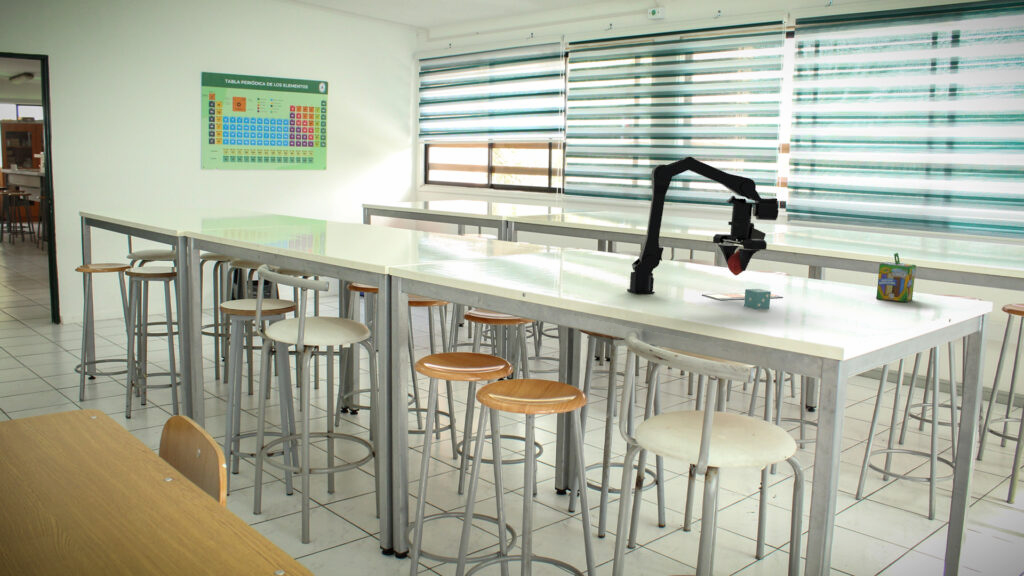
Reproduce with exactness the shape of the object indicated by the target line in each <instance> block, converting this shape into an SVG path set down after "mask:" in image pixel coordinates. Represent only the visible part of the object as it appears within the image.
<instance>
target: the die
mask: <svg viewBox="0 0 1024 576" xmlns="http://www.w3.org/2000/svg"><path fill="white" fill-rule="evenodd" d="M744 293H745V299H743V301H744V303H743V307H746V306H747V307H746V308H750V309H752V310H762V309H763V310H766V309H768V310H769V309H770V306H771V305H770V304H771V298H770V296H771V294H772V291H769V290H767V289H762V288H746V289H745V292H744Z"/></svg>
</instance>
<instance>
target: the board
mask: <svg viewBox="0 0 1024 576" xmlns="http://www.w3.org/2000/svg"><path fill="white" fill-rule="evenodd" d="M701 296H703V297H707V298H710V299H713V300H717V301H737V300H738V301H739V300H740V301H741V300H742V301H744V300H745V292H732V293H731V292H730V293H729V292H727V293H704V294H703V293H702V294H701ZM770 299H784V297H783V296H780V295H778V294H773V293H771V296H770Z"/></svg>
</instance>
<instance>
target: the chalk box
mask: <svg viewBox="0 0 1024 576" xmlns="http://www.w3.org/2000/svg"><path fill="white" fill-rule="evenodd" d="M893 258H894V262H889V261H885V262H880V263H879V266H878V267H879V268H878V278H877V288H876V289H877V290H876V296H875V297H876V300H882V301H883V300H884V301H892V302H894V301H895V302H903V303H908V302H910V301H912V300H913V297H914V296H913V295H914V286H915V278H916V277H915V276H916V270H917V269H916V267H917V264H910V263H903V262H901V261H900V257H899V253H898V252H896V253H895V252H894V253H893Z"/></svg>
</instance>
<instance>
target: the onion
mask: <svg viewBox="0 0 1024 576" xmlns="http://www.w3.org/2000/svg"><path fill="white" fill-rule="evenodd" d="M727 267H728V269H729V272H730V273H732V274H733V276H739V275H740V274H742V273H743V272H744V271H742V270H741V265H740V256H739V249H736V251H735V254H733V255H731V256H730V258H729V260H728V265H727Z"/></svg>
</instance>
